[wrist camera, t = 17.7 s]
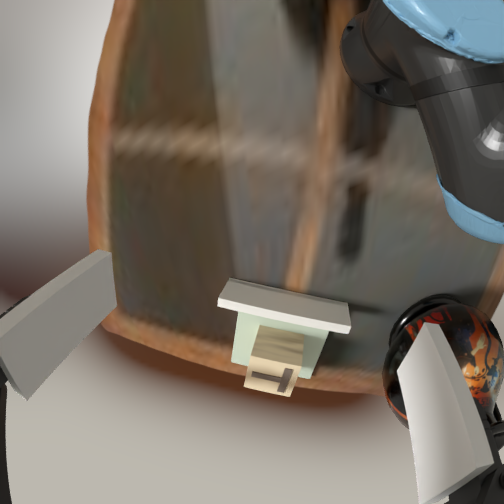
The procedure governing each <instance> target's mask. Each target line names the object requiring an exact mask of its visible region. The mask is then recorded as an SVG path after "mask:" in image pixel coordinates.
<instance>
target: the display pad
mask: <svg viewBox="0 0 504 504" xmlns="http://www.w3.org/2000/svg"><path fill="white" fill-rule="evenodd" d="M259 325H262V326H267V327H271V328H276V329H280V330H285V331H289V332H294V333H299V334H304V346H303V358H302V367H301V370H300V372H299V375H298V377H302V378H308V379H310V377H311V374H312V372H313V370H314V367H315V365H316V363H317V360H318V358H319V356H320V353H321V351H322V348H323V346H324V343H325V341H326V338H327V335H328V333H329V331H328V330H323V329H317V328H312V327H307V326H302V325H298V324H293V323H288V322H283V321H279V320H274V319H270V318H265V317H261V316H256V315H252V314H248V313H244V312H238V318H237V325H236V332H235V339H234V346H233V352H232V359H231V362H233V363H237V364H241V365H246V366H248V365H249V360H250V356H251V352H252V349H253V346H254V342H255V339H256V336H257V332H258V329H259Z"/></svg>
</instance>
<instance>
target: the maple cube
mask: <svg viewBox="0 0 504 504" xmlns="http://www.w3.org/2000/svg"><path fill="white" fill-rule="evenodd" d="M303 346H304V334H299V333H294V332H289V331H285V330H280V329H276V328H271V327H267V326H262V325H259V329H258V332H257V336H256V339H255V342H254V346H253V349H252V352H251V356H250V360H249V365H248V370H247V374H246V380H245V384H244V387H247V388H251V389H255V390H260V391H265V392H269V393H274V394H279V395H284V396H290V394H291V392H292V389H293V387H294V385H295V382H296V380H297V377H298V375H299V372H300V370H301V367H302V358H303Z"/></svg>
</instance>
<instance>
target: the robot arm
mask: <svg viewBox="0 0 504 504" xmlns="http://www.w3.org/2000/svg"><path fill="white" fill-rule="evenodd" d="M340 55H341V60H342V63H343V65H344V68H345V70H346V72H347V73H348V75H349V76H350V78H351V79H352V81H353V82H354V83H355V84H356V85H357V86H358V87H359V88H360V89H361V90H362V91H364V92H365V93H366V94H368V95H369V96H371V97H372V98H374V99H376V100H378V101H380V102H383V103H386V104H389V105H394V106H409V105H414V104H416V107H417V109H418V112H419V115H420V118H421V120H422V123H423V126H424V129H425V132H426V135H427V139H428V142H429V145H430V148H431V152H432V155H433V159H434V163H435V167H436V170H437V175H436V177H437V181H438V184H439V186H440V188H441V189H442V192H443V196H444V201H445V205H446V209H447V211H448V214H449V216H450V217H451V218H452V219H453V220H454V222H455V223H456V225H457V226H458V227H460V228H461V229H462V230H464V231H465V232H467V233H468V234H470V235H472V236H474V237H477V238H479V239H482V240H485V241H489V242H493V243H499V244H504V2H503V1H502V0H371V1H370V4H369V6H368V9H367V10H366V11H364V12H362V13H360V14H358V15H356V16H355V17H354V18H352V19H351V20H350V21H349V23H348V24H347V25H346V27H345V29H344V31H343V34H342V37H341V41H340ZM116 306H117V302H116V295H115V286H114V277H113V267H112V255H111V253H110V252H106V251H103V250H99V249H98V250H96V251H95V252H93V253H92V254H90V255H88V256H87V257H86V258H84V259H82V260H81V261H79V262H78V263H76V264H75V265H73V266H72V267H70V268H69V269H67V270H66V271H65V272H63V273H61V274H60V275H59V276H57V277H56V278H54V279H53V280H51V281H50V282H49V283H47V284H46V285H44V286H43V287H42V288H40V289H39V290H37V291H36V292H35V293H33V294H32V295H29V296H27V297H24V298H22V299H21V300H20V301H18V302H17V303H16V304H14V305H13V307H10V308H9V309H8V310H7V311H6V313H5V312H4V313H3V314H1V315H0V504H12V501H11V496H10V489H9V482H8V472H7V461H6V439H5V420H6V399H7V387H6V385H5V383H6V382H7V381H9V382H10V384H11V386H12V387H13V389H14V391H15V392H17V393H18V394H19V395H20V396H21V397H23V398H24V399H25V400H26V401H27V400H28V399H29V398H30V397H31V396H32V394H33V393H34V392H35V391H36V390H37V389H38V388H39V387H40V385H41V384H42V383H43V382H44V381H45V380H46V379H47V378H48V377H49V375H50V374H51V373H52V372H53V371H54V370H55V369H56V368H57V367H58V366H59V365H60V363H61V362H62V361H63V360H64V359H65V358H66V357H67V356H68V355H69V354H70V353H71V352H72V351H73V350H74V349H75V347H77V346H78V344H79V343H80V342H81V341H82V340H83V339H84V338H85V337H86V336H87V335H88V334H89V333H90V332H91V331H92V330H93V329H94V328H95V327H96V326H97V325H98V324H99V323H100V322H101V321H102V320H103V319H104V318H105V317H106V316H107V315H108V314H109V313H110V312H111V311H112V310H113V309H114V308H115V307H116ZM397 374H398V378H399V382H400V386H401V390H402V395H403V399H404V404H405V409H406V414H407V419H408V424H409V430H410V435H411V441H412V447H413V454H414V461H415V469H416V477H417V487H418V499H419V504H431V503H435V502H438V501H440V500H441V499H443V498H445V497H446V496H448V495H449V501H448V502H446V503H444V504H504V464H502V463H501V460H500V456H499V452H498V449H497V446H496V443H495V439H494V436H493V433H492V430H490V424H489V422H488V421H487V416H486V413H485V411H484V408H483V406H482V405H481V404H480V402H479V401H478V400H477V398H476V397H472V395H471V392H470V390H469V387H468V385H467V382H466V380H465V378H464V375H463V373H462V371H461V369H460V367H459V364H458V362H457V360H456V358H455V356H454V354H453V352H452V349H451V347H450V345H449V343H448V341H447V339H446V337H445V335H444V333H443V331H442V330H441V328H440V326H439V324H433V323H426V322H424V324H423V326H422V328H421V330H420V332H419V334H418V335H417V337H416V339H415V341H414V343H413V344H412V346H411V348H410V350H409V351H408V353H407V355H406V357H405V358H404V360H403V362H402V363H401V365H400V366H399V368H398V370H397Z"/></svg>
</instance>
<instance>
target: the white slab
mask: <svg viewBox="0 0 504 504" xmlns="http://www.w3.org/2000/svg"><path fill="white" fill-rule="evenodd" d="M218 306H219V307H223V308H227V309H231V310H235V311H239V312H244V313H248V314H252V315H256V316H261V317H265V318H270V319H274V320H279V321H283V322H288V323H293V324H298V325H302V326H307V327H312V328H317V329H323V330H328V331H333V332H339V333H344V334H348V333H349V331H350V328H351V321H350V315H349V309H348V303H346V302H341V301H336V300H331V299H326V298H321V297H316V296H311V295H306V294H302V293H297V292H292V291H288V290H283V289H278V288H274V287H269V286H265V285H260V284H256V283H251V282H247V281H242V280H238V279H234V278H229V280H228V282H227V284H226V285H225V287H224V289H223V291H222V292H221V294H220V296H219V298H218Z"/></svg>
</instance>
